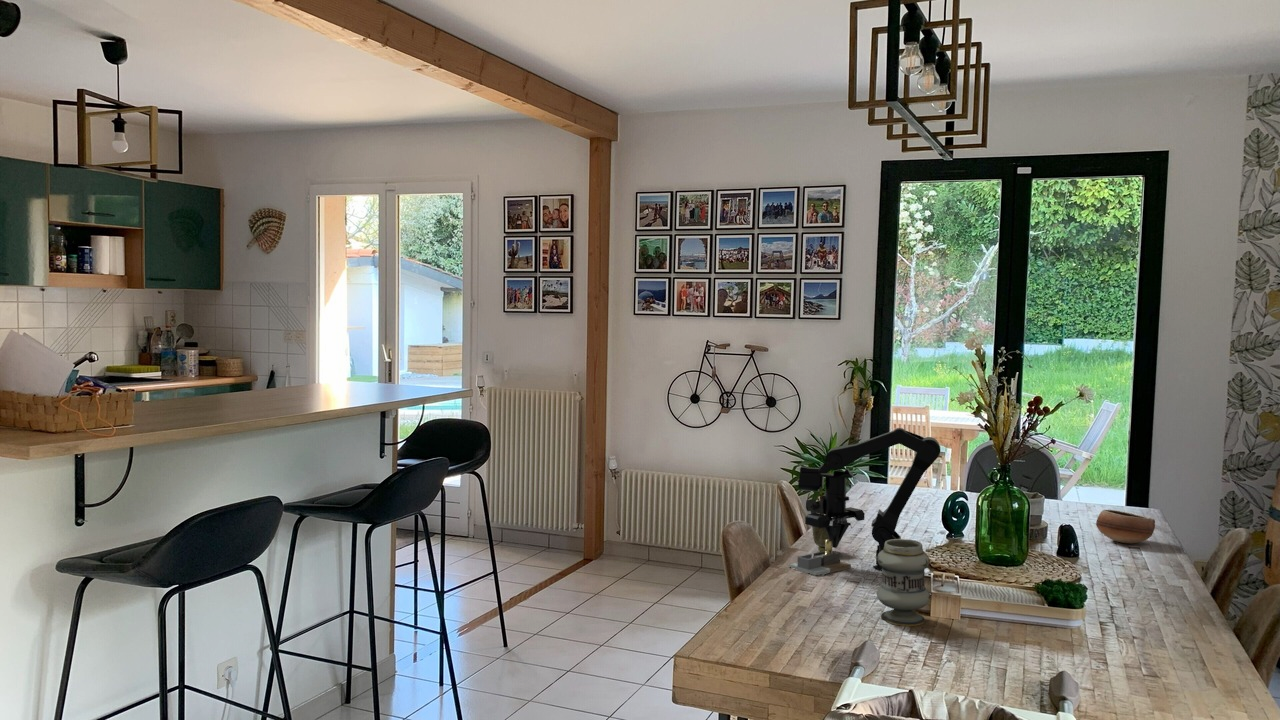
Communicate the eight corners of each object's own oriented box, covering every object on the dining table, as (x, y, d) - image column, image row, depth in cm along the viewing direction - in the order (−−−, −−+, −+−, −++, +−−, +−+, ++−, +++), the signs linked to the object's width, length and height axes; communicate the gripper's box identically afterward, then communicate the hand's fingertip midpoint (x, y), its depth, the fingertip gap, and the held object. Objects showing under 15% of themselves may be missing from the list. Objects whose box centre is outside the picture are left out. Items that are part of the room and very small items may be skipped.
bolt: (834, 561, 266) (834, 540, 266) (819, 565, 263) (819, 543, 262) (827, 559, 268) (828, 538, 268) (813, 563, 265) (813, 541, 264)
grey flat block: (850, 567, 265) (850, 554, 265) (831, 572, 260) (831, 558, 260) (823, 560, 273) (823, 547, 273) (804, 564, 268) (804, 551, 268)
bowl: (1164, 546, 292) (1165, 514, 292) (1126, 550, 286) (1127, 517, 286) (1121, 535, 307) (1122, 504, 306) (1084, 539, 301) (1085, 507, 300)
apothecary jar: (865, 614, 224) (866, 538, 223) (908, 609, 228) (909, 534, 227) (896, 630, 212) (898, 550, 212) (941, 624, 217) (942, 546, 216)
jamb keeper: (830, 572, 260) (830, 558, 260) (816, 575, 256) (816, 561, 256) (803, 564, 268) (803, 551, 268) (789, 567, 264) (789, 554, 264)
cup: (839, 554, 279) (839, 527, 279) (813, 554, 280) (814, 527, 279) (834, 548, 287) (834, 522, 286) (809, 548, 287) (810, 521, 287)
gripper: (836, 485, 279) (835, 537, 280) (791, 491, 268) (790, 546, 269) (866, 490, 270) (865, 545, 271) (820, 498, 259) (819, 554, 260)
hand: (834, 547), depth 268 cm, fingers closed
